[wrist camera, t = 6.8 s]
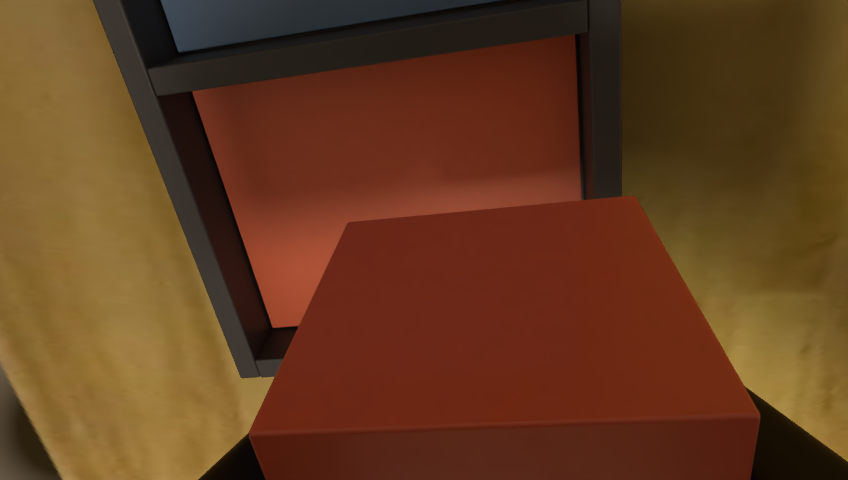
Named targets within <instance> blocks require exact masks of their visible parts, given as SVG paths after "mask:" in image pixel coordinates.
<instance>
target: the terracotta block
mask: <svg viewBox="0 0 848 480" xmlns="http://www.w3.org/2000/svg"><path fill="white" fill-rule="evenodd" d="M760 417H761V415H760V413H759V411H758V409H757V408H756V406H755V404H754V402H753V401H752V399H751V397H750V395H749V394H748V392H747V390H746V388H745V387H744V385H743V383H742V381H741V380H740V378H739V376H738V374H737V373H736V371H735V369H734V367H733V366H732V364H731V362H730V360H729V359H728V357H727V355H726V353H725V352H724V350H723V348H722V346H721V345H720V343H719V341H718V340H717V338H716V336H715V334H714V333H713V331H712V329H711V327H710V326H709V324H708V322H707V320H706V319H705V317H704V315H703V313H702V312H701V310H700V308H699V306H698V305H697V303H696V301H695V299H694V298H693V296H692V294H691V292H690V291H689V289H688V287H687V285H686V284H685V282H684V280H683V278H682V277H681V275H680V273H679V271H678V270H677V268H676V266H675V264H674V263H673V261H672V259H671V257H670V256H669V254H668V252H667V251H666V249H665V247H664V245H663V244H662V242H661V240H660V238H659V237H658V235H657V233H656V231H655V230H654V228H653V226H652V224H651V223H650V221H649V219H648V217H647V216H646V214H645V212H644V210H643V209H642V207H641V205H640V203H639V202H638V200H637V198H636V196H622V197H612V198H601V199H590V200H580V201H569V202H558V203H547V204H537V205H526V206H515V207H505V208H494V209H483V210H472V211H462V212H451V213H440V214H430V215H419V216H408V217H397V218H387V219H376V220H365V221H355V222H348V223H347V225H346V227H345V229H344V231H343V233H342V235H341V237H340V240H339V242H338V244H337V246H336V248H335V250H334V252H333V254H332V257H331V259H330V261H329V263H328V265H327V267H326V269H325V271H324V274H323V276H322V278H321V280H320V282H319V284H318V286H317V288H316V291H315V293H314V295H313V297H312V299H311V301H310V303H309V305H308V308H307V310H306V312H305V314H304V316H303V318H302V320H301V322H300V325H299V327H298V329H297V331H296V333H295V335H294V337H293V339H292V342H291V344H290V346H289V348H288V350H287V352H286V354H285V356H284V359H283V361H282V363H281V365H280V367H279V369H278V371H277V373H276V376H275V378H274V380H273V382H272V384H271V386H270V388H269V390H268V393H267V395H266V397H265V399H264V401H263V403H262V405H261V407H260V410H259V412H258V414H257V416H256V418H255V420H254V422H253V424H252V427H251V429H250V431H249V439H250V441H251V444H252V446H253V449H254V451H255V454H256V456H257V459H258V461H259V464H260V467H261V469H262V472H263V474H264V477H265V479H266V480H750V478H751V472H752V466H753V460H754V454H755V448H756V442H757V436H758V430H759V424H760Z"/></svg>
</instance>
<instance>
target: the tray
mask: <svg viewBox="0 0 848 480" xmlns="http://www.w3.org/2000/svg"><path fill="white" fill-rule="evenodd" d="M93 2H94V4H95V7H96V10H97V12H98V15H99V17H100V20H101V22H102V25H103V27H104V30H105V33H106V35H107V38H108V40H109V43H110V45H111V48H112V50H113V53H114V55H115V58H116V61H117V63H118V66H119V68H120V71H121V73H122V76H123V78H124V81H125V83H126V86H127V89H128V91H129V94H130V96H131V99H132V101H133V104H134V106H135V109H136V112H137V114H138V117H139V119H140V122H141V124H142V127H143V129H144V132H145V134H146V137H147V140H148V142H149V145H150V147H151V150H152V152H153V155H154V157H155V160H156V163H157V165H158V168H159V170H160V173H161V175H162V178H163V180H164V183H165V185H166V188H167V191H168V193H169V196H170V198H171V201H172V203H173V206H174V208H175V211H176V214H177V216H178V219H179V221H180V224H181V226H182V229H183V231H184V234H185V236H186V239H187V242H188V244H189V247H190V249H191V252H192V254H193V257H194V259H195V262H196V265H197V267H198V270H199V272H200V275H201V277H202V280H203V282H204V285H205V287H206V290H207V293H208V295H209V298H210V300H211V303H212V305H213V308H214V310H215V313H216V316H217V318H218V321H219V323H220V326H221V328H222V331H223V333H224V336H225V338H226V341H227V344H228V346H229V349H230V351H231V354H232V356H233V359H234V361H235V364H236V367H237V369H238V372H239V374H240V377H241V378H252V377H260V376H261V377H274V376H276V373H277V371H278V369H279V367H280V365H281V363H282V361H283V359H284V356H285V354H286V352H287V350H288V348H289V346H290V344H291V342H292V339H293V337H294V335H295V333H296V331H297V329H298V327H299V325H300V322H301V320H302V318H303V316H304V314H305V312H306V310H307V308H308V305H309V303H310V301H311V299H312V297H313V295H314V293H315V291H316V288H317V286H318V284H319V282H320V280H321V278H322V276H323V274H324V271H325V269H326V267H327V265H328V263H329V261H330V259H331V257H332V254H333V252H334V250H335V248H336V246H337V244H338V242H339V240H340V237H341V235H342V233H343V231H344V229H345V227H346V225H347V223H348V222H355V221H365V220H376V219H387V218H397V217H408V216H419V215H430V214H440V213H451V212H462V211H472V210H483V209H494V208H505V207H515V206H526V205H537V204H547V203H558V202H569V201H580V200H590V199H601V198H612V197H622V118H621V0H93Z"/></svg>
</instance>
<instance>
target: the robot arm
mask: <svg viewBox="0 0 848 480" xmlns="http://www.w3.org/2000/svg"><path fill="white" fill-rule="evenodd" d="M744 387H745V386H744ZM745 388H746V387H745ZM746 390H747V392H748V394H749V395H750V397H751V399H752V401H753V402H754V404H755V406H756V408H757V409H758V411H759V413H760V415H761V417H760V424H759V430H758V436H757V442H756V448H755V454H754V460H753V466H752V472H751V478H750V480H848V462H847V461H846V460H844V459H843V458H842V457H840V456H839V455H838V454H836V453H835V452H834V451H832V450H831V449H829V448H828V447H827V446H825V445H824V444H823V443H821V442H820V441H819V440H817V439H816V438H814V437H813V436H812V435H810V434H809V433H808V432H806V431H805V430H804V429H802V428H801V427H799V426H798V425H797V424H795V423H794V422H793V421H791V420H790V419H789V418H787V417H786V416H784V415H783V414H782V413H780V412H779V411H778V410H776V409H775V408H774V407H772V406H771V405H769V404H768V403H767V402H765V401H764V400H763V399H761V398H760V397H759V396H757V395H756V394H754V393H753V392H752V391H750V390H749V389H748V388H746ZM198 480H266V479H265V477H264V474H263V472H262V469H261V467H260V464H259V461H258V459H257V456H256V454H255V451H254V449H253V446H252V444H251V441H250V439H249V433H248V434H247V435H246V436H245V437H244V438H243V439H242V440H240V441H239V442H238V443H237V444H236V445H235V446H234V447H233V448H232V449H231V450H230V451H229V452H228V453H226V454H225V455H224V456H223V457H222V458H221V459H220V460H219V461H218V462H217V463H216V464H215V465H213V466H212V467H211V468H210V469H209V470H208V471H207V472H206V473H205V474H204V475H203V476H202V477H201V478H199V479H198Z"/></svg>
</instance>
